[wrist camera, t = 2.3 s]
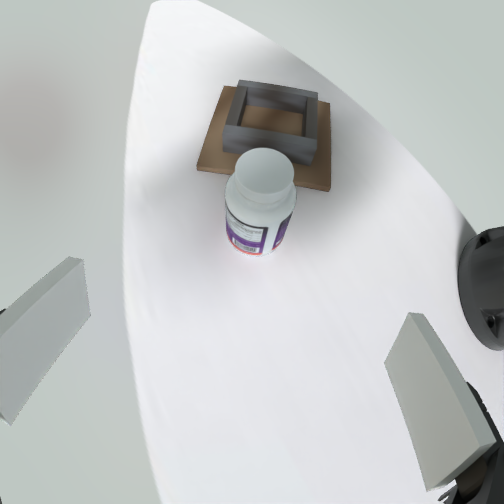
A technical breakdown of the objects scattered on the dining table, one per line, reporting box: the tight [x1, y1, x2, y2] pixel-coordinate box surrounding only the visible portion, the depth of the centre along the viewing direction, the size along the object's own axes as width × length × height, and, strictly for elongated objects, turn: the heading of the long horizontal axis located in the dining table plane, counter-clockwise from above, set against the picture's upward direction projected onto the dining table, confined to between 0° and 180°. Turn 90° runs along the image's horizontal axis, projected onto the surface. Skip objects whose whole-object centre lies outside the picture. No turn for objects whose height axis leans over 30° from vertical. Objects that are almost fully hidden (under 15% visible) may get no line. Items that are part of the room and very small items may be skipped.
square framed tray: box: [196, 80, 331, 192], centre depth 32 cm, size 14×14×4 cm
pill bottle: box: [225, 148, 296, 257], centre depth 24 cm, size 5×5×10 cm
